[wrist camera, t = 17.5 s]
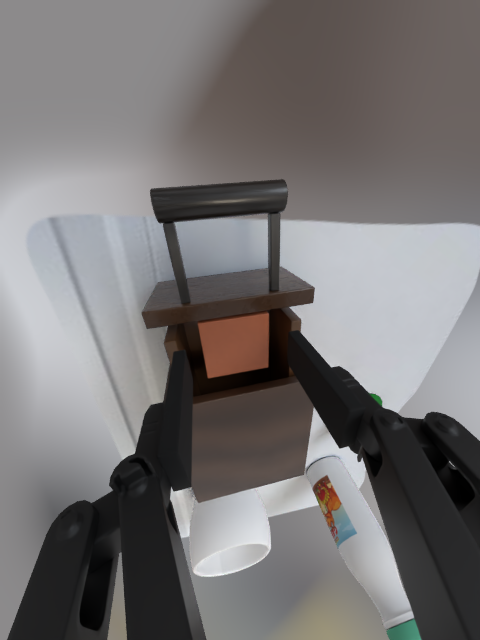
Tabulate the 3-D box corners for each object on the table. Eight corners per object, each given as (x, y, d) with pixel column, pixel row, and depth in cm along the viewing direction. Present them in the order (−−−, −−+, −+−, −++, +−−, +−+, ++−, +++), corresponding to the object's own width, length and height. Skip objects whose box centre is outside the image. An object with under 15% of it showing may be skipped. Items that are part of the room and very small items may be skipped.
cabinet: (172, 348, 22) (161, 411, 15) (282, 329, 24) (318, 378, 17) (197, 434, 30) (197, 503, 23) (279, 415, 31) (304, 474, 24)
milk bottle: (331, 450, 39) (438, 638, 22) (346, 462, 43) (448, 632, 26) (299, 470, 41) (376, 663, 23) (316, 480, 44) (394, 654, 27)
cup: (267, 462, 37) (288, 535, 28) (243, 498, 42) (256, 570, 33) (200, 462, 33) (202, 547, 25) (182, 501, 38) (179, 584, 29)
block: (197, 296, 18) (197, 324, 14) (252, 289, 19) (269, 313, 14) (205, 343, 20) (207, 378, 16) (253, 335, 21) (268, 367, 17)
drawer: (134, 198, 15) (97, 190, 9) (283, 187, 16) (328, 174, 11) (189, 396, 25) (188, 449, 19) (279, 378, 26) (301, 423, 21)
